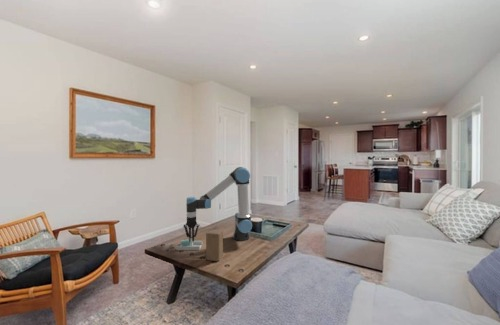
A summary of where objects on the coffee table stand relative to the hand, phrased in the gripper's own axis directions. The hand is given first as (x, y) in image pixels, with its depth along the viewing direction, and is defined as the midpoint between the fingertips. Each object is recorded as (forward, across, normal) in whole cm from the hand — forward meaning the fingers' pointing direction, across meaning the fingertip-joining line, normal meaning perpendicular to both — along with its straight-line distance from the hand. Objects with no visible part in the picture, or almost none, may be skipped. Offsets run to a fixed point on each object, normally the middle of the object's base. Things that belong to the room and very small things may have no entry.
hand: (191, 245), depth 185 cm
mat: (+2, +15, 0) cm, 15 cm away
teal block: (+2, +4, 0) cm, 4 cm away
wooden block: (+3, -22, +18) cm, 28 cm away
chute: (+2, +2, 0) cm, 3 cm away
